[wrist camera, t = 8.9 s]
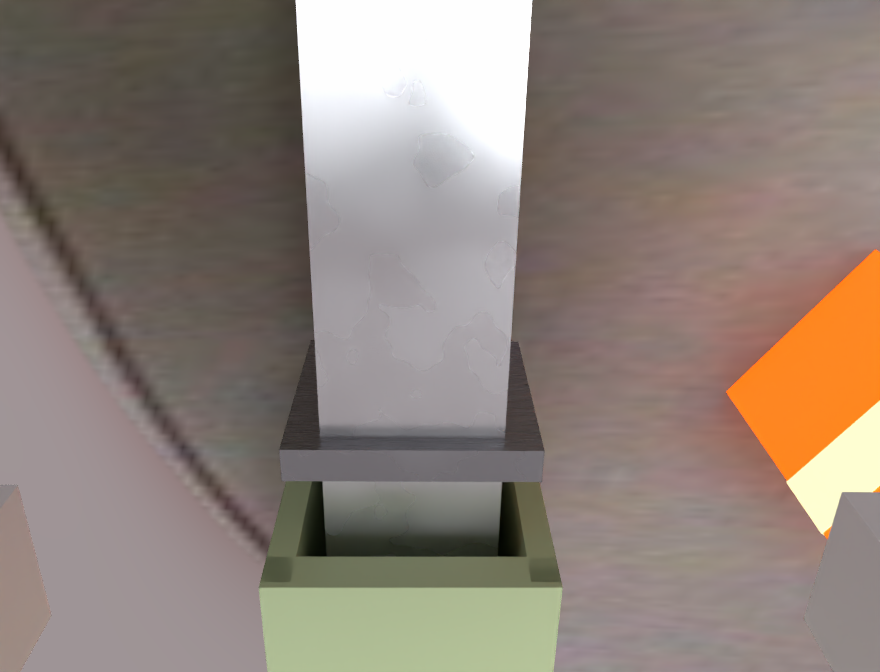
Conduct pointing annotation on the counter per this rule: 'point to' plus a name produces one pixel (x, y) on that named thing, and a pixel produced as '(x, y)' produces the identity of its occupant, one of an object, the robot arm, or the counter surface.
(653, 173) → the counter surface
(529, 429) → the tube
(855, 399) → the orange juice
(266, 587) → the socket
